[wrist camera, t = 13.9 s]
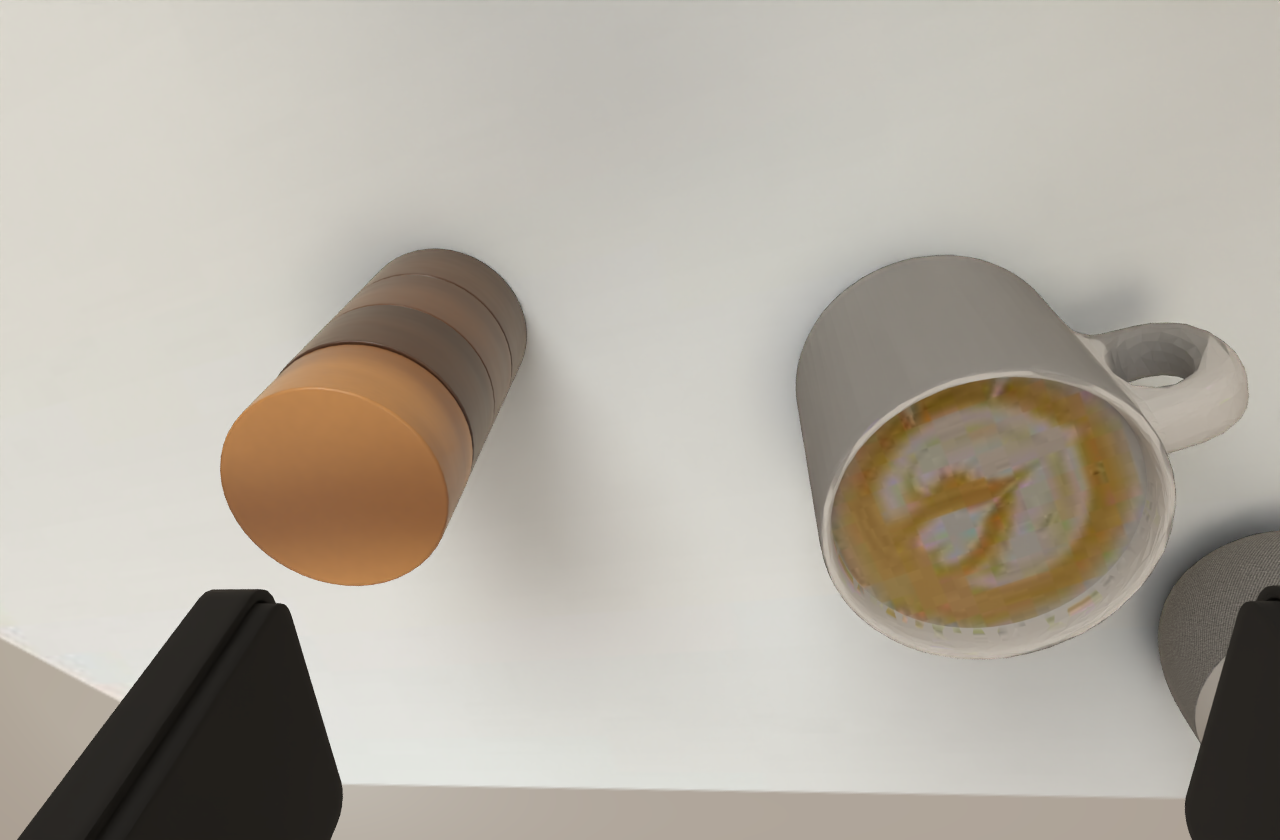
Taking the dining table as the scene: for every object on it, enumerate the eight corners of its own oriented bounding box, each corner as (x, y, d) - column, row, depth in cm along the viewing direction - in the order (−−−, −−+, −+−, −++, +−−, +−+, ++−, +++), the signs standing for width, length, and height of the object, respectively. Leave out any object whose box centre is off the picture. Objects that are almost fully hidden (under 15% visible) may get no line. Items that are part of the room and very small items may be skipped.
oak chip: (239, 349, 28) (189, 393, 26) (453, 337, 28) (424, 381, 25) (294, 532, 31) (254, 590, 28) (488, 526, 30) (466, 583, 28)
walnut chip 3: (281, 310, 31) (239, 346, 28) (477, 298, 30) (453, 334, 28) (328, 482, 34) (294, 530, 31) (508, 475, 33) (489, 523, 30)
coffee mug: (815, 510, 40) (843, 678, 31) (776, 283, 35) (795, 402, 27) (1161, 458, 38) (1299, 624, 29) (1164, 210, 33) (1326, 313, 24)
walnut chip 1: (346, 253, 36) (316, 279, 34) (514, 242, 36) (497, 267, 33) (382, 407, 39) (357, 442, 36) (537, 399, 38) (523, 434, 36)
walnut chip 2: (316, 279, 34) (281, 310, 31) (497, 267, 33) (477, 298, 30) (357, 442, 36) (328, 482, 34) (523, 434, 36) (508, 475, 33)
